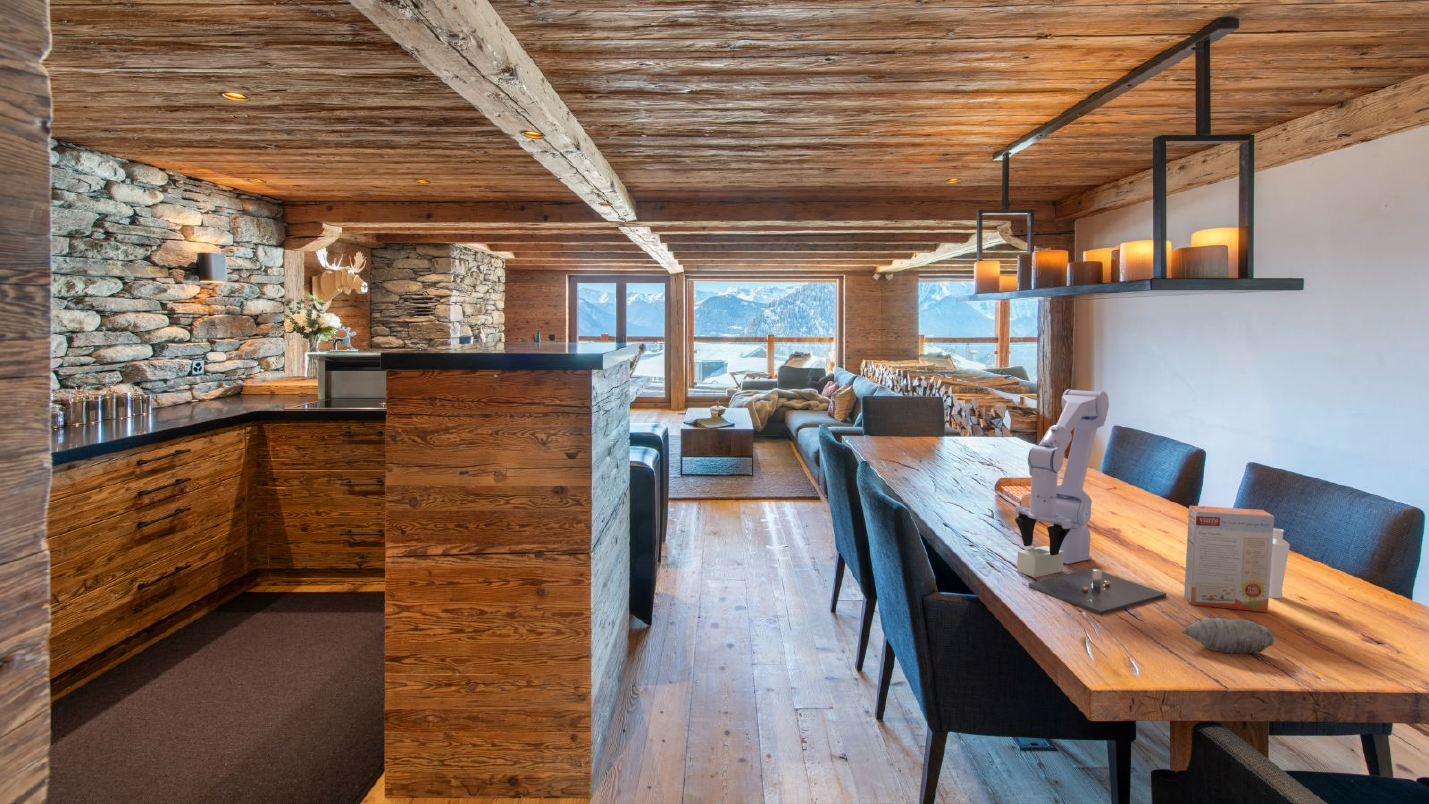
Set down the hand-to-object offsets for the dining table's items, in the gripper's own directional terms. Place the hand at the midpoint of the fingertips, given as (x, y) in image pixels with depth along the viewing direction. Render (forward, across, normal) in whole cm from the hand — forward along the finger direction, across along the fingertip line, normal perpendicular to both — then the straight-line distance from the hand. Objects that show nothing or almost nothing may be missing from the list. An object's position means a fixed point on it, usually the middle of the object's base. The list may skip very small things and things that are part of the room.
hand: (1040, 550), depth 173 cm
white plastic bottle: (+5, +34, +33) cm, 48 cm away
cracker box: (+6, +32, +18) cm, 37 cm away
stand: (+5, +15, 0) cm, 16 cm away
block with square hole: (+5, 0, 0) cm, 5 cm away
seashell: (+6, +45, -5) cm, 46 cm away
